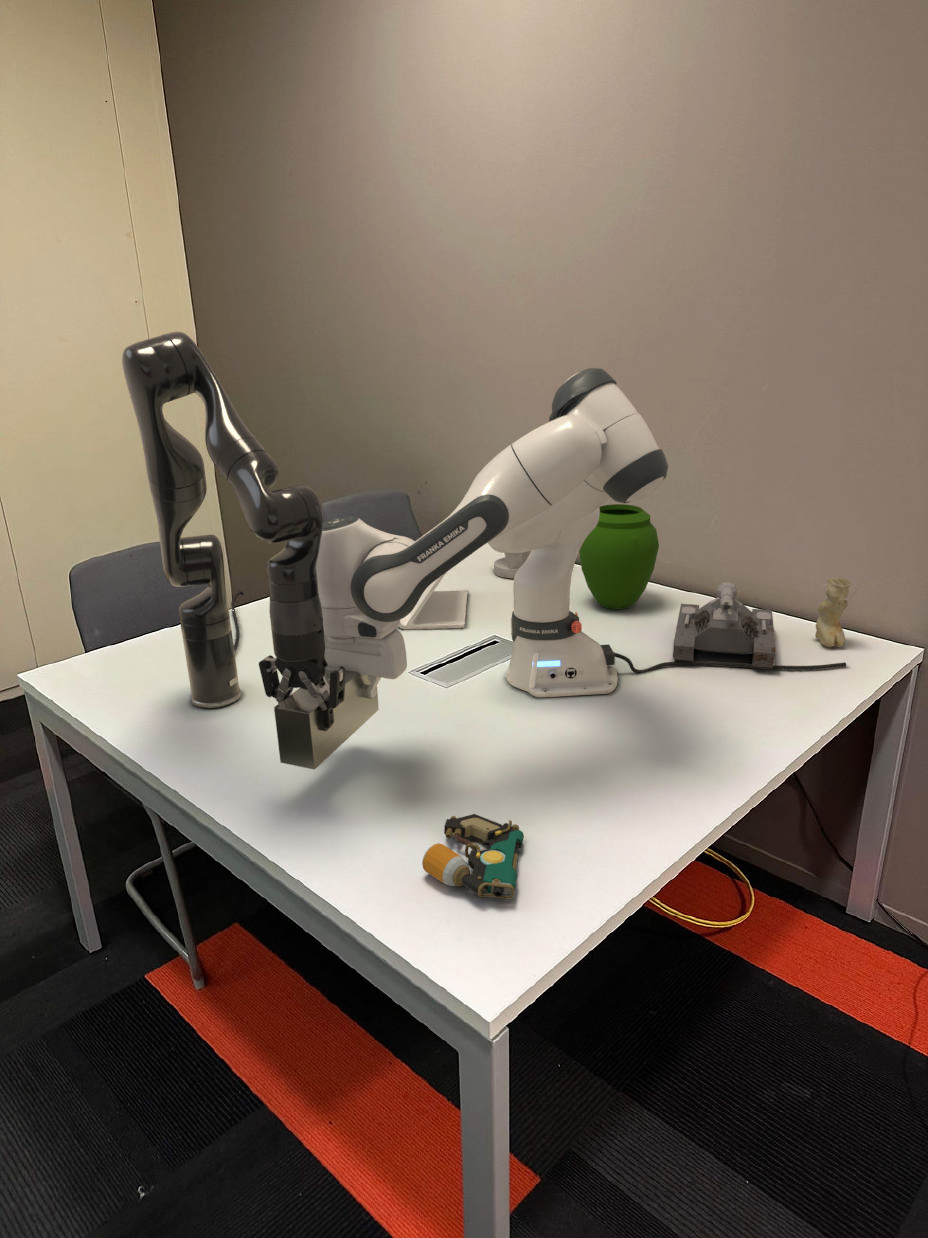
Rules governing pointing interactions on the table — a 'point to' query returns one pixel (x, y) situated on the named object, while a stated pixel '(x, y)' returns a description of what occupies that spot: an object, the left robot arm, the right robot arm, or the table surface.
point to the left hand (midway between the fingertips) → (307, 725)
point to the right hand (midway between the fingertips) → (350, 694)
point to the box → (302, 722)
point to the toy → (725, 629)
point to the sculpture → (832, 613)
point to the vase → (619, 555)
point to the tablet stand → (437, 609)
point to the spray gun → (478, 856)
